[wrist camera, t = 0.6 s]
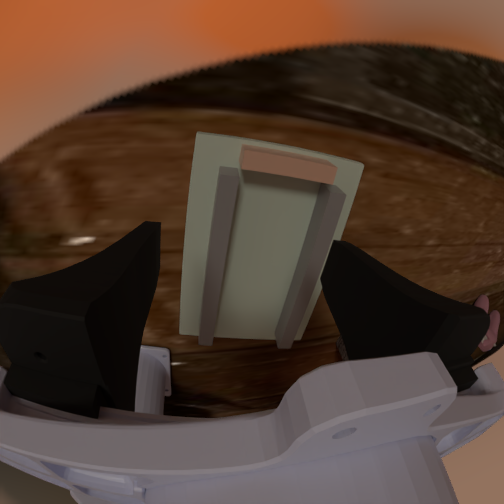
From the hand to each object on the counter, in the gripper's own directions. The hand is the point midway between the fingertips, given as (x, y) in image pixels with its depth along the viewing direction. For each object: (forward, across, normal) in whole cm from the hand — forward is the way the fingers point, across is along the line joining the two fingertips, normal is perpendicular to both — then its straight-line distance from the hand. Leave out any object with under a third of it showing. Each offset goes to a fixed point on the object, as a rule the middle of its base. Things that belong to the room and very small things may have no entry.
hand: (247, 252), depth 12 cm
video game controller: (+10, -39, +13) cm, 42 cm away
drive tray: (+10, -3, +6) cm, 12 cm away
